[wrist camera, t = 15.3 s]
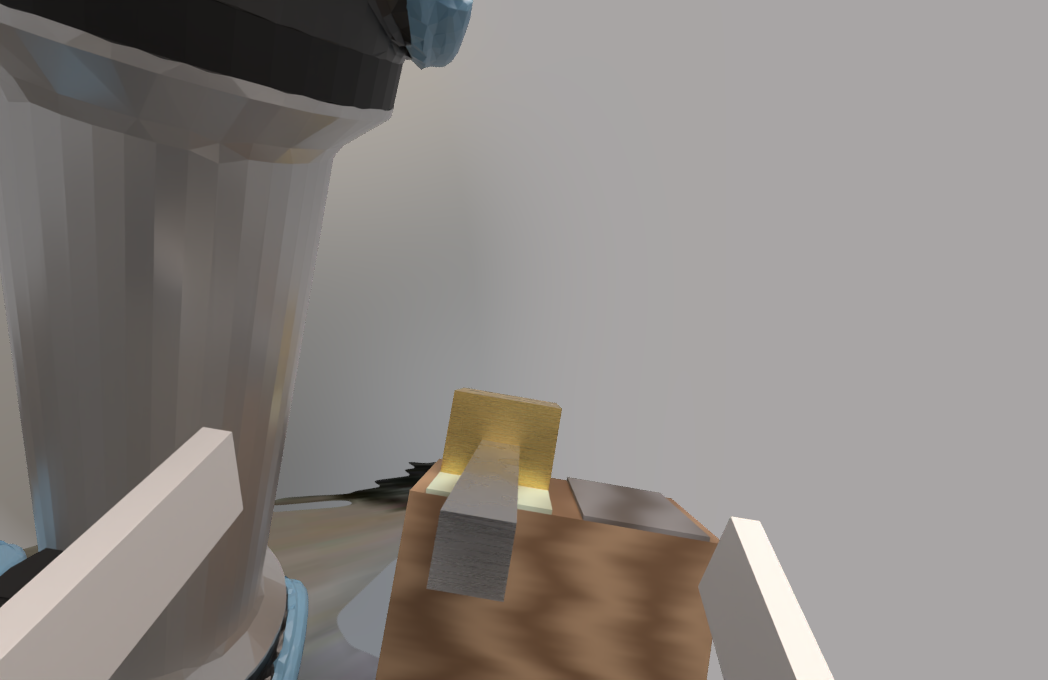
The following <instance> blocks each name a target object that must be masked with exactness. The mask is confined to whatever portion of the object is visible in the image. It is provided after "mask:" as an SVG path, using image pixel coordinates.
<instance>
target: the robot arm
mask: <svg viewBox="0 0 1048 680" xmlns="http://www.w3.org/2000/svg"><path fill="white" fill-rule="evenodd" d="M472 3H473V0H0V272H1V280H2V287H3V295H4V301H5V309H6V316H7V324H8V331H9V338H10V345H11V353H12V360H13V367H14V374H15V382H16V389H17V396H18V404H19V411H20V418H21V426H22V433H23V440H24V447H25V455H26V462H27V469H28V476H29V484H30V491H31V498H32V505H33V512H34V520H35V528H36V534H37V542H38V549H39V552H38V553H36V554H34V555H32V556H31V557H29V558H26V554H25V552H24V551H23V549H22V548H21V547H19V546H17V545H15V544H7V543H5V542H4V541H1V540H0V680H297V679H298V674H299V669H300V664H301V659H302V654H303V648H304V642H305V636H306V628H307V618H308V593H307V589H306V588H305V587H304V585H303V584H302V582H301V581H299V580H296V579H289V578H288V577H286V576H284V573H283V570H282V567H281V565H280V563H279V561H278V559H277V558H276V556H275V555H274V553H273V552H272V551H271V550H270V549H269V547H268V546H267V543H268V538H269V532H270V526H271V520H272V514H273V508H274V502H275V497H276V491H277V485H278V479H279V473H280V467H281V461H282V456H283V449H284V443H285V438H286V432H287V426H288V420H289V414H290V409H291V402H292V396H293V391H294V385H295V379H296V373H297V367H298V362H299V355H300V350H301V344H302V338H303V332H304V327H305V321H306V315H307V309H308V303H309V297H310V291H311V286H312V280H313V273H314V268H315V262H316V256H317V250H318V244H319V239H320V232H321V227H322V221H323V215H324V209H325V204H326V198H327V192H328V186H329V180H330V174H331V168H332V162H333V158H334V157H335V155H336V153H337V152H338V151H339V150H340V149H341V148H342V147H343V146H344V145H346V144H347V143H349V142H351V141H352V140H354V139H356V138H358V137H359V136H361V135H363V134H365V133H366V132H368V131H370V130H372V129H373V128H375V127H377V126H379V125H380V124H382V123H384V122H386V121H387V120H389V119H390V118H391V116H392V112H393V109H394V101H395V97H396V93H397V88H398V83H399V79H400V74H401V69H402V65H403V63H404V61H405V59H406V60H412V61H413V62H414V63H415V64H416V65H417V66H418V67H419V68H420V69H421V70H422V69H423V68H426V67H430V66H431V67H432V66H433V67H444V66H446V65H447V64H449V63H450V62H451V61H452V60H453V59H454V57H455V56H456V54H457V53H458V51H459V48H460V46H461V43H462V40H463V38H464V35H465V33H466V30H467V27H468V24H469V20H470V16H471V10H472ZM698 588H699V592H700V595H701V599H702V603H703V606H704V610H705V613H706V617H707V621H708V624H709V628H710V632H711V635H712V639H713V642H714V646H715V649H716V653H717V657H718V660H719V664H720V668H721V671H722V674H723V678H724V680H834V678H833V676H832V674H831V672H830V670H829V668H828V665H827V663H826V661H825V659H824V657H823V655H822V653H821V651H820V648H819V646H818V644H817V642H816V640H815V638H814V636H813V634H812V632H811V629H810V627H809V625H808V623H807V621H806V619H805V617H804V614H803V612H802V610H801V608H800V606H799V604H798V602H797V600H796V597H795V595H794V593H793V591H792V589H791V587H790V584H789V582H788V580H787V578H786V576H785V574H784V572H783V570H782V567H781V566H780V563H779V561H778V559H777V557H776V555H775V552H774V550H773V548H772V546H771V544H770V542H769V540H768V538H767V536H766V533H765V531H764V529H763V527H762V525H761V523H760V521H755V520H749V519H743V518H737V517H730V519H729V521H728V523H727V525H726V528H725V530H724V532H723V534H722V536H721V538H720V540H719V543H718V545H717V547H716V549H715V551H714V553H713V556H712V558H711V560H710V562H709V564H708V566H707V568H706V571H705V573H704V575H703V577H702V579H701V581H700V583H699V586H698Z"/></svg>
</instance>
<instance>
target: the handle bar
mask: <svg viewBox="0 0 1048 680" xmlns="http://www.w3.org/2000/svg"><path fill="white" fill-rule="evenodd" d="M561 411H562V408H561V407H560V406H559V405H557V404H556V403H551V402H545V401H539V400H534V399H528V398H522V397H516V396H510V395H504V394H499V393H493V392H487V391H481V390H475V389H469V388H462V389H458V390H455V392H454V398H453V403H452V409H451V414H450V421H449V426H448V431H447V437H446V443H445V448H444V454H443V459H442V465H441V471H440V472H443V473H449V474H455V475H461V476H460V478H459V479H458V481H457V483H456V484H455V486H454V488H453V490H452V491H451V493H450V495H449V496H448V498H447V500H446V501H445V503H444V505H443V506H442V508H441V510H440V515H439V521H438V526H437V532H436V538H435V543H434V549H433V554H432V560H431V566H430V571H429V577H428V583H427V588H426V589H431V590H437V591H443V592H448V593H454V594H460V595H466V596H471V597H477V598H483V599H489V600H494V601H500V602H504V596H505V590H506V584H507V578H508V572H509V566H510V560H511V554H512V548H513V542H514V536H515V530H516V524H517V503H518V485H519V486H525V487H531V488H536V489H542V490H549V484H550V478H551V472H552V466H553V459H554V454H555V448H556V442H557V435H558V429H559V423H560V417H561Z"/></svg>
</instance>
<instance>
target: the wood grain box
mask: <svg viewBox="0 0 1048 680" xmlns="http://www.w3.org/2000/svg"><path fill="white" fill-rule="evenodd" d="M441 465H442V459H439V460H438V461H437V462H436V463H435V464H434V465H433V466H432V467H431V469H430V470H429V471H428V472H427V473H426V474H425V475H424V476H423V477H422V478H421V479H420V480H419V481H418V482H417V483H416V484H415V486H414V487H413V488H412V489H411V490H410V493H409V498H408V504H407V509H406V515H405V520H404V526H403V531H402V537H401V542H400V548H399V553H398V559H397V564H396V570H395V575H394V581H393V586H392V592H391V597H390V603H389V609H388V614H387V619H386V625H385V630H384V636H383V641H382V647H381V652H380V658H379V663H378V669H377V674H376V680H707V673H708V666H709V658H710V651H711V644H712V635H711V632H710V628H709V624H708V621H707V617H706V613H705V610H704V606H703V603H702V599H701V595H700V592H699V588H698V586H699V583H700V581H701V579H702V577H703V575H704V573H705V571H706V568H707V566H708V564H709V562H710V560H711V558H712V556H713V553H714V551H715V549H716V547H717V545H718V543H719V539H718V538H717V537H716V536H715V535H713V534H712V533H711V532H710V531H709V530H708V529H706V528H705V527H704V526H703V525H702V524H701V523H699V522H698V521H697V520H696V519H695V518H694V517H692V516H691V515H690V514H689V513H688V512H686V511H685V510H684V509H683V508H682V507H681V506H680V505H678V504H677V503H676V502H675V501H674V500H672V499H671V498H665V497H664V496H663V495H662V494H661V493H657V492H652V491H646V490H640V489H634V488H629V487H623V486H616V485H611V484H605V483H599V482H593V481H588V480H582V479H576V478H570V477H568V478H567V480H561V479H555V478H550V484H549V490H542V489H536V488H531V487H525V486H519V485H518V503H517V524H516V530H515V536H514V542H513V548H512V554H511V560H510V566H509V572H508V578H507V584H506V590H505V596H504V602H500V601H494V600H489V599H483V598H477V597H471V596H466V595H460V594H454V593H448V592H443V591H437V590H431V589H426V588H427V583H428V577H429V571H430V566H431V560H432V554H433V549H434V543H435V538H436V532H437V526H438V521H439V515H440V510H441V508H442V506H443V505H444V503H445V501H446V500H447V498H448V496H449V495H450V493H451V491H452V490H453V488H454V486H455V484H456V483H457V481H458V479H459V478H460V476H461V475H455V474H449V473H443V472H440V471H441Z"/></svg>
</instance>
